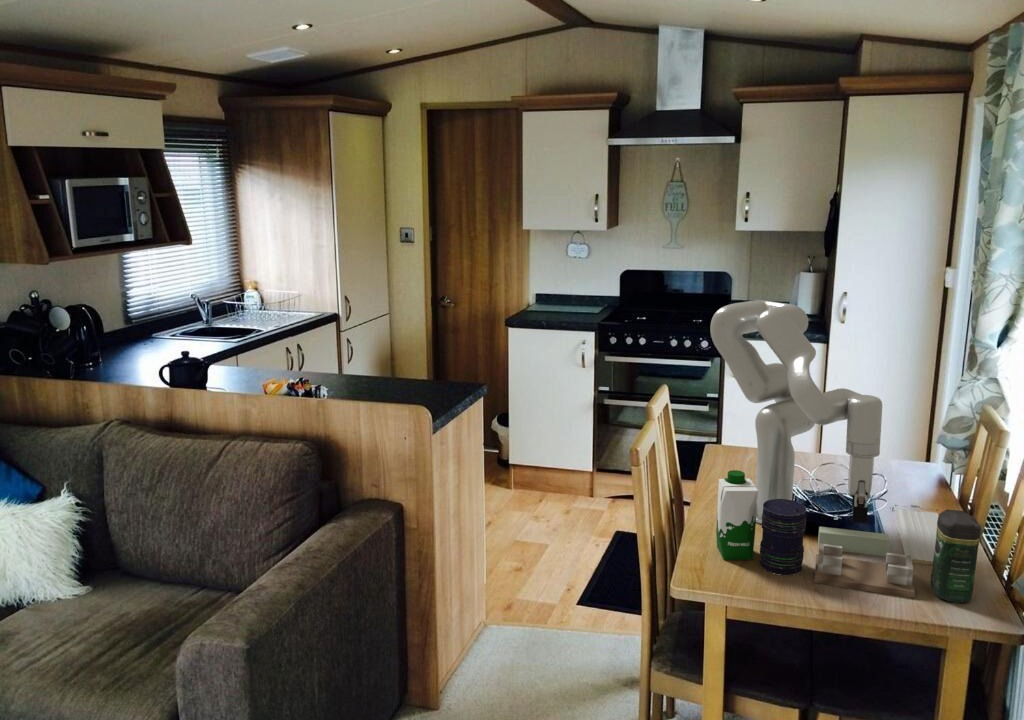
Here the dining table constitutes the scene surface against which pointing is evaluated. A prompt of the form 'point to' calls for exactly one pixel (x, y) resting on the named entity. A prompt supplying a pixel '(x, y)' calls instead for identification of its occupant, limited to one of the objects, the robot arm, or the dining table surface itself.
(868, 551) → the pale green long block
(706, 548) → the dining table surface
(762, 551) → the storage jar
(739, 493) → the milk carton
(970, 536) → the coffee jar
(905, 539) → the baseboard molding
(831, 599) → the dining table surface
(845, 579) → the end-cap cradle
